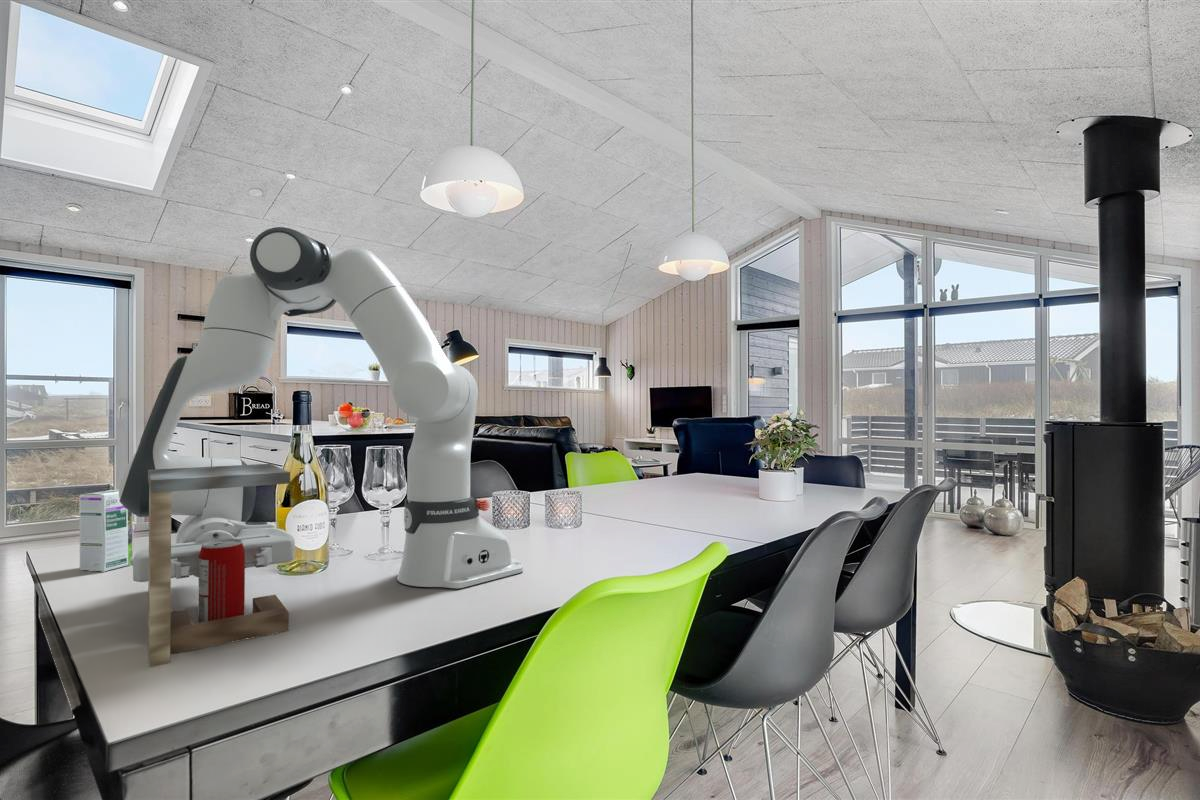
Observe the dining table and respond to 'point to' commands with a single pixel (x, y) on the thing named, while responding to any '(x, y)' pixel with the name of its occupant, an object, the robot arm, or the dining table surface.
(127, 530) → the syrup box
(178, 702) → the dining table surface
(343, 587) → the dining table surface
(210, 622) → the socket
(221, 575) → the soda can
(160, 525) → the wooden c-frame stand
